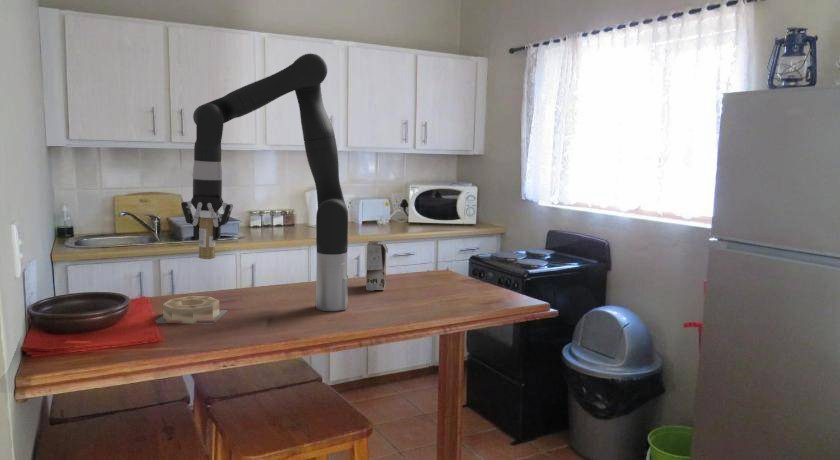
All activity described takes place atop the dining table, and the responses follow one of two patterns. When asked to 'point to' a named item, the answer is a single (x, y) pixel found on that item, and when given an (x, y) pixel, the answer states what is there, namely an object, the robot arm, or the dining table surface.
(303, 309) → the dining table surface
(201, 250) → the sprinkles bottle
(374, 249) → the coffee box
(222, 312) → the mat
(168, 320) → the reddish pink rod
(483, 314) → the dining table surface
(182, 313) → the octagonal faceted ring
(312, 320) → the dining table surface
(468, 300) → the dining table surface
